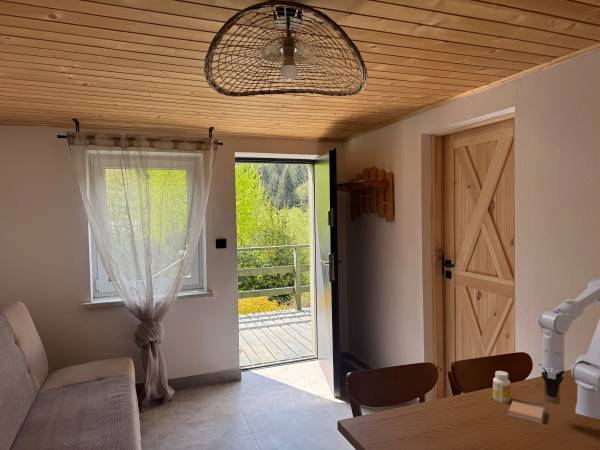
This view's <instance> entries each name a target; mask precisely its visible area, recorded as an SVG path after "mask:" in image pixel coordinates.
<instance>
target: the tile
mask: <svg viewBox="0 0 600 450" xmlns="http://www.w3.org/2000/svg"><path fill="white" fill-rule="evenodd" d="M511 403H512V404H511ZM511 403H510V405H511V406H510V405H509V408H510V409H509V408H508V411H509V415H512V416H516V417H520V418H524V419H528V420H532V421H536V422H540V423H542V418H543V413H544V408H542V407H538V406H533V405H529V404H525V403H521V402H516V401H512V400H511ZM512 416H511V417H512ZM516 417H515V418H516ZM520 418H519V419H520ZM524 419H523V420H524ZM528 420H527V421H528ZM532 421H531V422H532ZM536 422H535V423H536ZM540 423H539V424H540Z"/></svg>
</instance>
